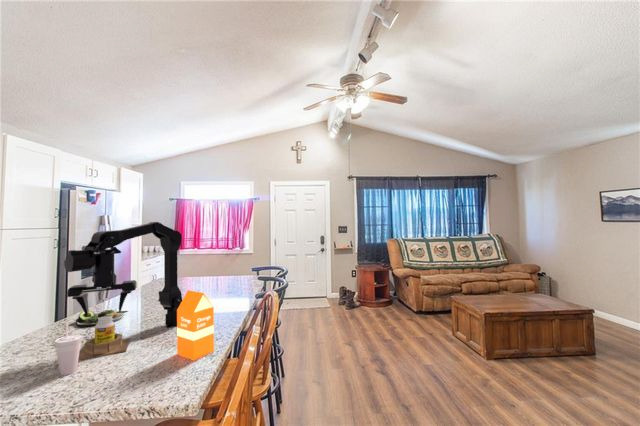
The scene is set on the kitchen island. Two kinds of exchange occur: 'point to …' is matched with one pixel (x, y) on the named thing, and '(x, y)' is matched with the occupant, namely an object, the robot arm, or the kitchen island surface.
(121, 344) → the caddy
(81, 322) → the salad plate
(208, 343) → the orange juice
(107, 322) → the supplement bottle
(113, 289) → the robot arm
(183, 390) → the kitchen island surface
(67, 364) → the smoothie
